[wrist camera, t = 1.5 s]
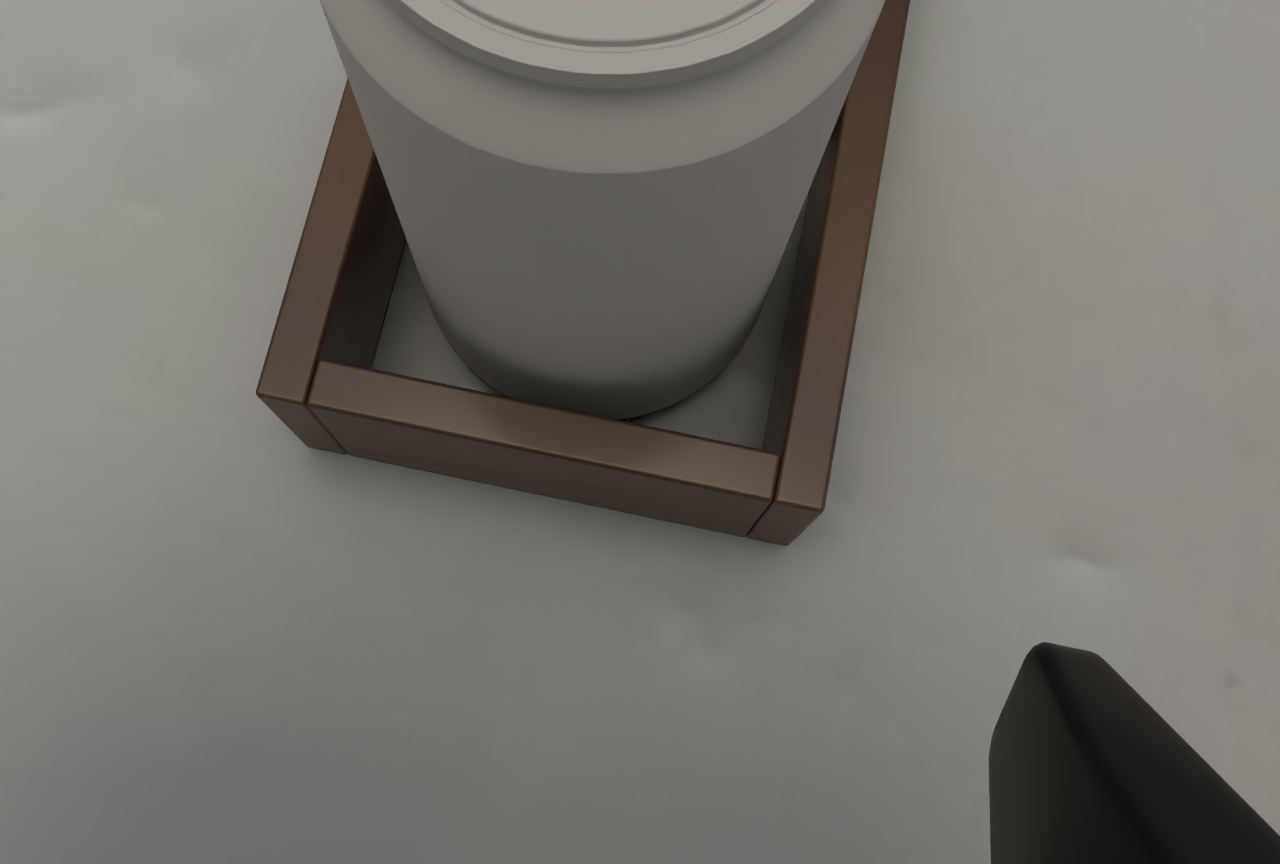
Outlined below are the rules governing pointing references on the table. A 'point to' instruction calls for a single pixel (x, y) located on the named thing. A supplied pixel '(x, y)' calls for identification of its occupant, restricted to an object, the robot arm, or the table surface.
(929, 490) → the table surface
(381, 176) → the stand
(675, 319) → the beverage can
